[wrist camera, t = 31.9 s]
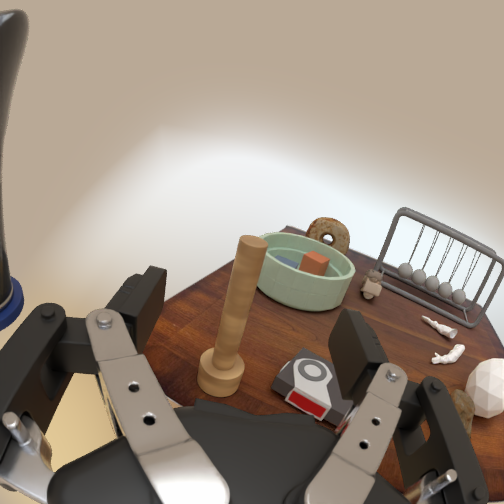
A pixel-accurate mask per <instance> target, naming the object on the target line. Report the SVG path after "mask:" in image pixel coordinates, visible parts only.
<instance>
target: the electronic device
mask: <svg viewBox="0 0 504 504" xmlns="http://www.w3.org/2000/svg"><path fill="white" fill-rule="evenodd" d="M271 388H272V389H273V390H275V391H276V392H278V393H280V394H281V395H283V396H285V397H286V399H285V401H287V402H288V403H290V404H292V405H293V406H295V407H297V408H298V409H300V410H302V411H304V412H305V413H307V414H309V415H314V418H316V419H318V420H320V421H322V420H323V419H325V420H327V421H328V422H330V423H332V424H334V425H336V426H338V425H339V424H340V422H341V421H342V419H343V418H344V416H345V415H346V413H347V412H348V410H349V408H350V407H351V406H352V405H353V400H342V396H341V392H340V388H339V384H338V380H337V376H336V373H335V369H334V365H333V363H331V362H329V361H327V360H325V359H323V358H322V357H320V356H318V355H316V354H314V353H313V352H311V351H309V350H307V349H305V348H304V347H303V348H302V350H301V351H300V352H299V353H298V354H297V355H296V356H295V357H294V358H293V359H292V360H291V361H288V363H287V364H286V365H285V366H284V367H283V368H282V369H281V371H280V373H279V374H278V375H277V376H276V378H275V380H274V382H273V384H272V386H271Z"/></svg>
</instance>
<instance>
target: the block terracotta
mask: <svg viewBox="0 0 504 504" xmlns="http://www.w3.org/2000/svg"><path fill="white" fill-rule="evenodd" d="M329 261H330V259H329V258H327V257H325V256H323V255H321V254H319V253H317V252H315V251H311V252H308V253H306V254H304V255H303V258H302V261H301V264H300V267H299V270H300V271H303V272H307V273H310V274H313V275H318V276H324V274H325V272H326V269H327V267H328V264H329Z"/></svg>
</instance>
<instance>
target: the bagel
mask: <svg viewBox="0 0 504 504" xmlns="http://www.w3.org/2000/svg"><path fill="white" fill-rule="evenodd" d="M327 234H328V235H331V236H332V239H333V241H332V243H331V244H326V245H328V246H330V247H332V248H334V249H336V250H338V251H339V252H340V253H342V254H343V255H344V256H345V254H346V253H347V251H348V248H349V243H350V236H349V232H348V230H347V228H346V227H345V225H343V224H342V223H341V222H340V221H338V220H335V219H333V218H326V217H321V218H318V219H316V220H314V221H313V222H312V223H311V224H310V226H309V228H308V230H307V232H306V236H305V237H308V238H311V239H314V240H317V241H319V242H321V243H324V241H323V237H324V235H327ZM324 244H325V243H324Z"/></svg>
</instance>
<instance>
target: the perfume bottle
mask: <svg viewBox="0 0 504 504" xmlns="http://www.w3.org/2000/svg"><path fill="white" fill-rule="evenodd" d="M464 392H465V393H466V394H467V396H470V397H471V399H472V400H473V402H474V405H475V412H474V414H475V415H477V416H481V417H485V418H490V417H493V416H495V415H498V414H500V413H502V412H503V411H504V359H497V358H492V359H489V360H487V361H484V362H481V363H479V365H478V366H477V367H476V368H475V369H474V371H473V372H472V373H471V374H470V375H469V378H468V381H467V385H466V388H465V391H464Z"/></svg>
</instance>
